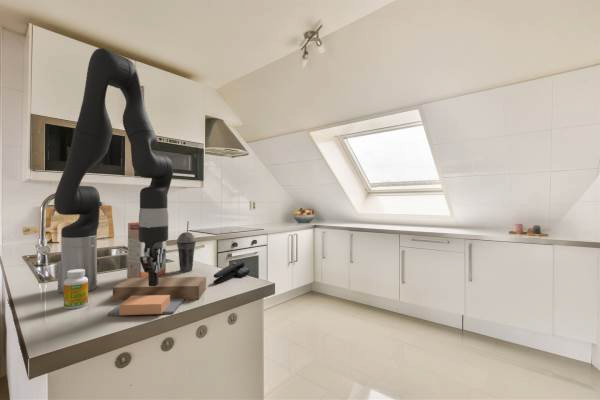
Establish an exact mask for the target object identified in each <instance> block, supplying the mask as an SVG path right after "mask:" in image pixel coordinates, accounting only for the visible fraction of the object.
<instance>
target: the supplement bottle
mask: <svg viewBox="0 0 600 400" xmlns="http://www.w3.org/2000/svg"><path fill="white" fill-rule="evenodd" d="M84 275H85V269H74V270H70V271H67V277H68V279H66V280H65V281H64V293H63V309H66V310H76V309H80V308H81V309H82V308H84V307H86V306H87V305H88V304H89V291H88V278H87V277H84Z"/></svg>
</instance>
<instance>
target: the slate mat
mask: <svg viewBox="0 0 600 400" xmlns="http://www.w3.org/2000/svg"><path fill="white" fill-rule="evenodd" d="M125 301H126V300H125ZM184 301H185V300H184V298H177V299H170V304H169V306H168V307H167V308H166V309H165V310H164V311H163V312H162V314H161V315H173V314H175V312H176V311H177V310H178V308H180V306H181V305H182V304H183V302H184ZM123 302H124V301H121V303H120V304H122V303H123ZM120 304H118V305H117V306H115V307H114V308H113V309H112V310H110V311H109V312H108V313H107V316H120V315H119V305H120ZM139 315H143V316H144V315H146V314H139ZM139 315H138V316H139Z"/></svg>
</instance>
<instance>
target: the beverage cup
mask: <svg viewBox="0 0 600 400" xmlns="http://www.w3.org/2000/svg"><path fill="white" fill-rule="evenodd" d="M189 223H190V222H189V220H188V221H187V223H186V231H185V232H182V233H181V234H179V236H178V237H177V240H176V247H177V249H178V250H177V252H178V263H179V271H180V272H181V273H188V272H189V273H190V272H192V271H193V266H194V255H195V247H196V237H195V235H194V234H193V233H191V232H189V225H190V224H189Z"/></svg>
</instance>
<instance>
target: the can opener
mask: <svg viewBox="0 0 600 400" xmlns="http://www.w3.org/2000/svg"><path fill="white" fill-rule="evenodd" d="M250 272H251V269H250V268H247V267H245V262H244V261H243V260H239V261H236V262H231V263H230V264H229V265H227V266H225V267H223V268H222V269H220V270H218V271H217V272H216V273H214V274H213V278H214V279H215V280H213V282H212V283H213V285H219V284H221V283H224V282H225V281H226V280H228V279H230V278H231V277H233V276H235V277H236V278H237V277H238V278H239V277H240V278H244V277H246V276H248V275H249V273H250Z"/></svg>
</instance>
